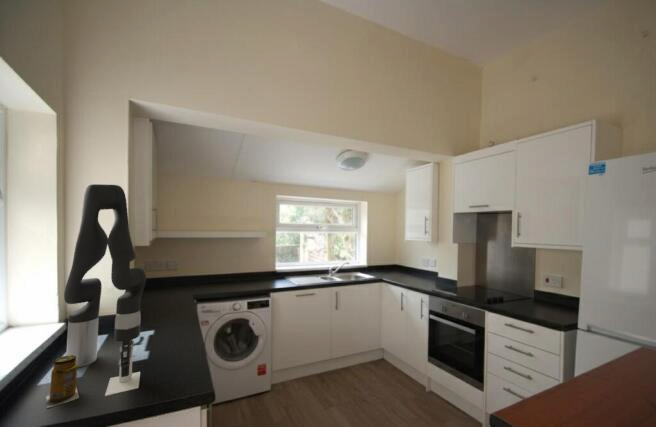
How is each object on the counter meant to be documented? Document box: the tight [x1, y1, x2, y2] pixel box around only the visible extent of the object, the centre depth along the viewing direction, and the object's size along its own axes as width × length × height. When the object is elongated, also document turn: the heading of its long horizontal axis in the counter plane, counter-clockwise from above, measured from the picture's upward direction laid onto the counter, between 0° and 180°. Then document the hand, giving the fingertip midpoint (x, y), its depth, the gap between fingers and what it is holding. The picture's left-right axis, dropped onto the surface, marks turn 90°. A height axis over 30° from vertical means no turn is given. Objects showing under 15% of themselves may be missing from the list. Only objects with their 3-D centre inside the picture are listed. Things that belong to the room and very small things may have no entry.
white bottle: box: [118, 348, 134, 383], centre depth 98 cm, size 4×4×12 cm
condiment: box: [45, 355, 80, 409], centre depth 88 cm, size 7×8×12 cm
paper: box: [104, 371, 141, 397], centre depth 96 cm, size 12×9×1 cm
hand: (125, 373), depth 98 cm, fingers closed on white bottle, 3 cm apart
